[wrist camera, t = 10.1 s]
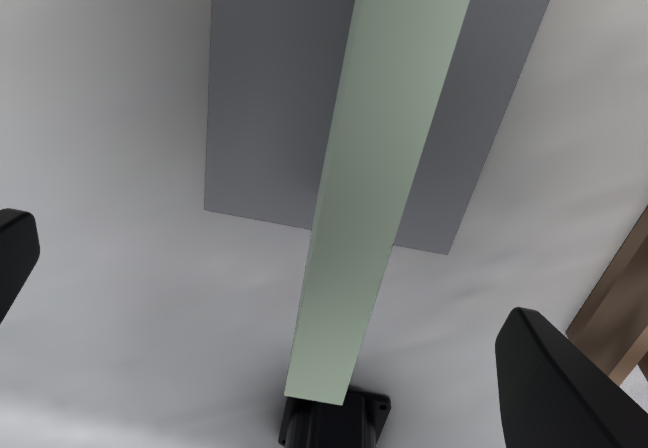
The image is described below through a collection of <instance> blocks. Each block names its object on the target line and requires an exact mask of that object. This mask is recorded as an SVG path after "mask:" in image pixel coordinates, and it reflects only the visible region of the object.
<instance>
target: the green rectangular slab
mask: <svg viewBox="0 0 648 448" xmlns="http://www.w3.org/2000/svg"><path fill="white" fill-rule="evenodd" d="M469 1H470V0H355V3H354V8H353V13H352V19H351V24H350V29H349V34H348V40H347V45H346V50H345V55H344V60H343V66H342V71H341V76H340V81H339V86H338V92H337V97H336V102H335V107H334V113H333V118H332V123H331V128H330V133H329V139H328V144H327V149H326V154H325V160H324V165H323V170H322V175H321V180H320V186H319V191H318V196H317V202H316V208H315V214H314V220H313V226H312V232H311V238H310V244H309V250H308V256H307V261H306V267H305V273H304V279H303V285H302V291H301V297H300V303H299V309H298V315H297V321H296V326H295V332H294V338H293V344H292V350H291V356H290V362H289V368H288V374H287V380H286V386H285V391H284V396H290V397H295V398H301V399H307V400H313V401H319V402H324V403H330V404H336V405H343V401H344V398H345V395H346V392H347V389H348V385H349V382H350V379H351V376H352V373H353V370H354V366H355V363H356V360H357V357H358V354H359V351H360V347H361V344H362V341H363V338H364V335H365V331H366V328H367V325H368V322H369V319H370V316H371V312H372V309H373V306H374V303H375V300H376V297H377V293H378V290H379V287H380V284H381V281H382V277H383V274H384V271H385V268H386V265H387V262H388V258H389V255H390V252H391V249H392V246H393V243H394V239H395V236H396V233H397V230H398V227H399V224H400V220H401V217H402V214H403V211H404V208H405V204H406V201H407V198H408V195H409V192H410V189H411V185H412V182H413V179H414V176H415V173H416V170H417V166H418V163H419V160H420V157H421V154H422V150H423V147H424V144H425V141H426V138H427V135H428V131H429V128H430V125H431V122H432V119H433V116H434V112H435V109H436V106H437V103H438V100H439V97H440V93H441V90H442V87H443V84H444V81H445V77H446V74H447V71H448V68H449V65H450V62H451V58H452V55H453V52H454V49H455V46H456V43H457V39H458V36H459V33H460V30H461V27H462V23H463V20H464V17H465V14H466V11H467V8H468V4H469Z"/></svg>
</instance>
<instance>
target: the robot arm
mask: <svg viewBox="0 0 648 448" xmlns="http://www.w3.org/2000/svg"><path fill="white" fill-rule="evenodd" d="M39 255H40V245H39V239H38V233H37V228H36V222H35V218H34V216H33V215H32V214H31V213H29V212H27V211H22V210H16V209H11V208H6V209H2V210H0V324H1V322H2V321H3V319H4V317H5V316H6V314H7V312H8V311H9V309H10V307H11V306H12V304H13V302H14V300H15V299H16V297H17V295H18V294H19V292H20V290H21V288H22V287H23V285H24V283H25V282H26V280H27V278H28V276H29V275H30V273H31V271H32V270H33V268H34V266H35V264H36V263H37V261H38V258H39ZM495 354H496V366H497V378H498V389H499V401H500V412H501V421H502V427H503V433H504V438H505V443H506V448H648V413H647V412H645V411H644V410H643V409H642V408H641V407H640V406H639V405H638V404H637V403H636V402H635V401H634V400H633V399H631V398H630V397H629V396H628V395H627V394H626V393H625V392H624V391H623V390H622V389H621V388H620V387H619V386H618V385H616V384H615V383H614V382H613V381H612V380H611V379H610V378H609V377H608V376H607V375H606V374H605V373H604V372H603V371H601V370H600V369H599V368H598V367H597V366H596V365H595V364H594V363H593V362H592V361H591V360H590V359H589V358H588V357H586V356H585V355H584V354H583V353H582V352H581V351H580V350H579V349H578V348H577V347H576V346H575V345H574V344H573V343H571V342H570V341H569V340H568V339H567V338H566V337H565V336H564V335H563V334H562V333H561V332H560V331H559V330H558V329H556V328H555V327H554V326H553V325H552V324H551V323H550V322H549V321H548V320H547V319H546V318H545V317H544V316H543V315H541V314H540V313H539V312H538V311H536V310H532V309H527V308H521V307H516V308H514V309H513V310H512V311H511V312H510V314H509V316H508V317H507V319H506V321H505V323H504V325H503V326H502V328H501V330H500V332H499V334H498V336H497V338H496V342H495ZM390 409H391V401H390V399H388V398H386V397H381V396H376V395H370V394H364V393H358V392H353V391H347V392H346V395H345V398H344V401H343V405H336V404H330V403H324V402H319V401H313V400H307V399H301V398H295V397H290V396H287V401H286V406H285V410H284V415H283V420H282V425H281V430H280V435H279V440H278V442H279V444H280V445H282V446H285V448H376V444H377V441H378V439H379V436H380V434H381V431H382V429H383V426H384V424H385V422H386V419H387V417H388V414H389V412H390Z"/></svg>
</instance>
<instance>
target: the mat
mask: <svg viewBox="0 0 648 448" xmlns="http://www.w3.org/2000/svg"><path fill="white" fill-rule="evenodd" d="M549 1H550V0H470V1H469V4H468V8H467V11H466V14H465V17H464V20H463V23H462V27H461V30H460V33H459V36H458V39H457V43H456V46H455V49H454V52H453V55H452V58H451V62H450V65H449V68H448V71H447V74H446V77H445V81H444V84H443V87H442V90H441V93H440V97H439V100H438V103H437V106H436V109H435V112H434V116H433V119H432V122H431V125H430V128H429V131H428V135H427V138H426V141H425V144H424V147H423V150H422V154H421V157H420V160H419V163H418V166H417V170H416V173H415V176H414V179H413V182H412V185H411V189H410V192H409V195H408V198H407V201H406V204H405V208H404V211H403V214H402V217H401V220H400V224H399V227H398V230H397V233H396V236H395V239H394V243H393V245H396V246H401V247H407V248H412V249H417V250H423V251H428V252H434V253H439V254H444V255H448V253H449V250H450V248H451V245H452V243H453V240H454V238H455V235H456V233H457V230H458V228H459V225H460V223H461V220H462V218H463V215H464V213H465V210H466V208H467V205H468V203H469V200H470V198H471V195H472V193H473V190H474V188H475V185H476V183H477V180H478V178H479V175H480V173H481V170H482V168H483V165H484V163H485V160H486V158H487V155H488V153H489V150H490V148H491V145H492V143H493V140H494V138H495V135H496V133H497V131H498V128H499V126H500V123H501V121H502V118H503V116H504V113H505V111H506V108H507V106H508V103H509V101H510V98H511V96H512V93H513V91H514V88H515V86H516V83H517V81H518V78H519V76H520V73H521V71H522V68H523V66H524V63H525V61H526V58H527V56H528V53H529V51H530V48H531V46H532V43H533V41H534V38H535V36H536V33H537V31H538V28H539V26H540V23H541V21H542V18H543V16H544V13H545V11H546V8H547V6H548V3H549ZM354 3H355V0H212V15H211V41H210V67H209V93H208V120H207V146H206V172H205V198H204V210H206V211H212V212H217V213H223V214H228V215H234V216H239V217H244V218H250V219H255V220H261V221H266V222H271V223H277V224H282V225H288V226H293V227H298V228H304V229H309V230H312V226H313V220H314V214H315V208H316V202H317V196H318V191H319V186H320V180H321V175H322V170H323V165H324V160H325V154H326V149H327V144H328V139H329V133H330V128H331V123H332V118H333V113H334V107H335V102H336V97H337V92H338V86H339V81H340V76H341V71H342V66H343V60H344V55H345V50H346V45H347V40H348V34H349V29H350V24H351V19H352V13H353V8H354Z"/></svg>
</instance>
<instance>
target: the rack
mask: <svg viewBox="0 0 648 448" xmlns="http://www.w3.org/2000/svg"><path fill="white" fill-rule="evenodd" d="M566 335H567V337H568V339H569V341H570V342H571V343H573V344H574V345H575V346H576V347H577V348H578V349H579V350H580V351H581V352H582V353H583V354H584V355H585V356H586V357H588V358H589V359H590V360H591V361H592V362H593V363H594V364H595V365H596V366H597V367H598V368H599V369H600V370H601V371H603V372H604V373H605V374H606V375H607V376H608V377H609V378H610V379H611V380H612V381H613V382H614V383H615V384H616V385H618V386H620V385H621V383H622V382H623V381H624V380H625V378H626V377H627V376H628V375H629V373H630V372H631V371H632V370H633V369H634V367H635V366H636V365H637V364H638V366H639V368H640V369H641V371H642V373H643V374H644V376H645V378H646V380H647V381H648V207H647V208H646V210H645V211H644V213H643V214H642V216H641V217H640V219H639V220H638V222H637V224H636V225H635V227H634V228H633V230H632V231H631V233H630V234H629V236H628V237H627V239H626V240H625V242H624V244H623V245H622V247H621V248H620V250H619V251H618V253H617V254H616V256H615V257H614V259H613V260H612V262H611V264H610V265H609V267H608V268H607V270H606V271H605V273H604V274H603V276H602V277H601V279H600V280H599V282H598V284H597V285H596V287H595V288H594V290H593V291H592V293H591V294H590V296H589V297H588V299H587V300H586V302H585V304H584V305H583V307H582V308H581V310H580V311H579V313H578V314H577V316H576V317H575V319H574V320H573V322H572V324H571V325H570V327H569V328H568V330H567V331H566Z"/></svg>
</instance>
